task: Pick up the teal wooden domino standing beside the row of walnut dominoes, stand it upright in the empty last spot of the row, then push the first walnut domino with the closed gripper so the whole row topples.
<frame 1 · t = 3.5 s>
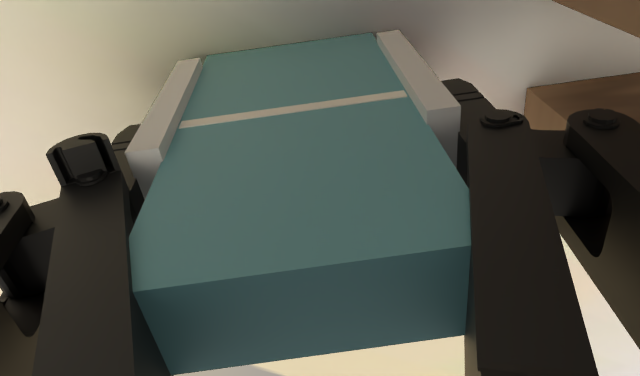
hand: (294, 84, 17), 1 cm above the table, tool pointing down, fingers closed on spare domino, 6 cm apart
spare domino: (293, 70, 18), on the table, touching gripper
domino 4: (597, 101, 19), on the table
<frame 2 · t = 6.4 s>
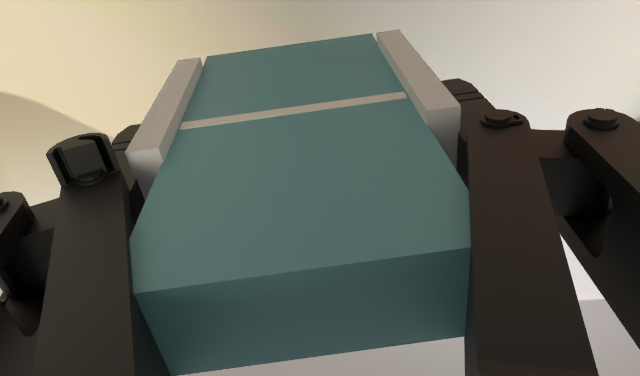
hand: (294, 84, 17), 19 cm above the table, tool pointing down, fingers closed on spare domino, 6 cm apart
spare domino: (293, 71, 18), point 17 cm above the table, touching gripper
when the fingers open (3 cm above the table, at t = 9.5 s): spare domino drops 1 cm, on the table.
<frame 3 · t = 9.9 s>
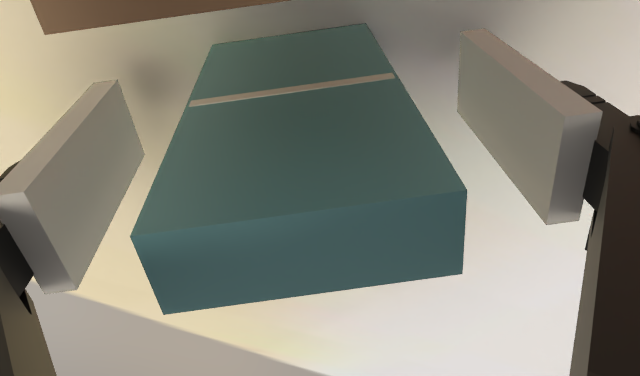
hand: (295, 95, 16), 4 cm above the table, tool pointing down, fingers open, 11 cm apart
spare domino: (292, 59, 19), on the table
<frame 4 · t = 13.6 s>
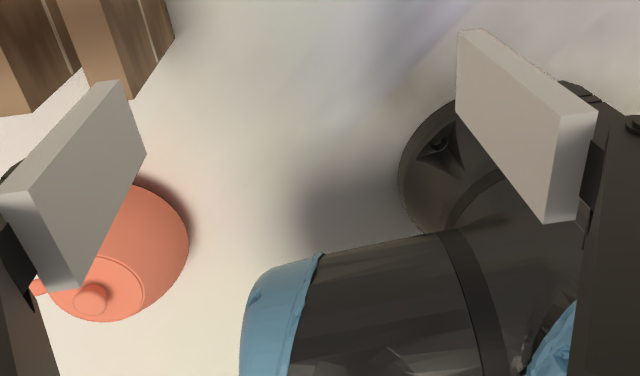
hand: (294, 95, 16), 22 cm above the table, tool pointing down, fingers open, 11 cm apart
domino 2: (73, 8, 34), on the table
sugar bowl: (116, 223, 45), on the table
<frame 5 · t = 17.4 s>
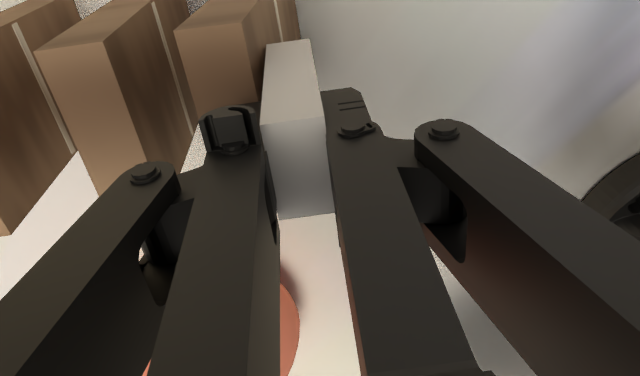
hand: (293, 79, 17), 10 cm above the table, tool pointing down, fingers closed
domino 3: (75, 54, 25), on the table
domino 2: (177, 39, 25), on the table
domino 1: (279, 24, 25), on the table, tilted 7°, touching gripper
sugar bowl: (205, 299, 36), on the table
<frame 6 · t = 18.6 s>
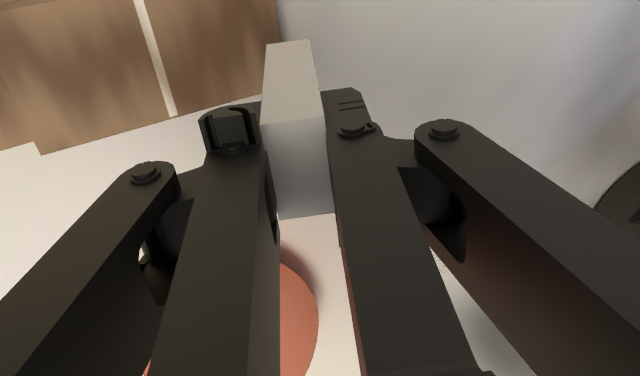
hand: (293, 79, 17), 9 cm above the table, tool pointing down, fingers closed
domino 2: (159, 36, 24), point 1 cm above the table, tilted 68°, touching domino 1, domino 3
domino 1: (271, 23, 24), point 1 cm above the table, tilted 68°, touching domino 2
sugar bowl: (221, 294, 35), on the table
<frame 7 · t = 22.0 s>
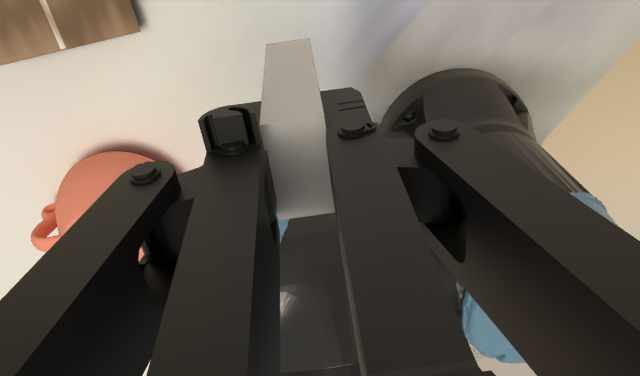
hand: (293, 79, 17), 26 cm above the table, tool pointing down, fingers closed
sugar bowl: (124, 192, 50), on the table
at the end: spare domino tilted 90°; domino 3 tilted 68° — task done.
